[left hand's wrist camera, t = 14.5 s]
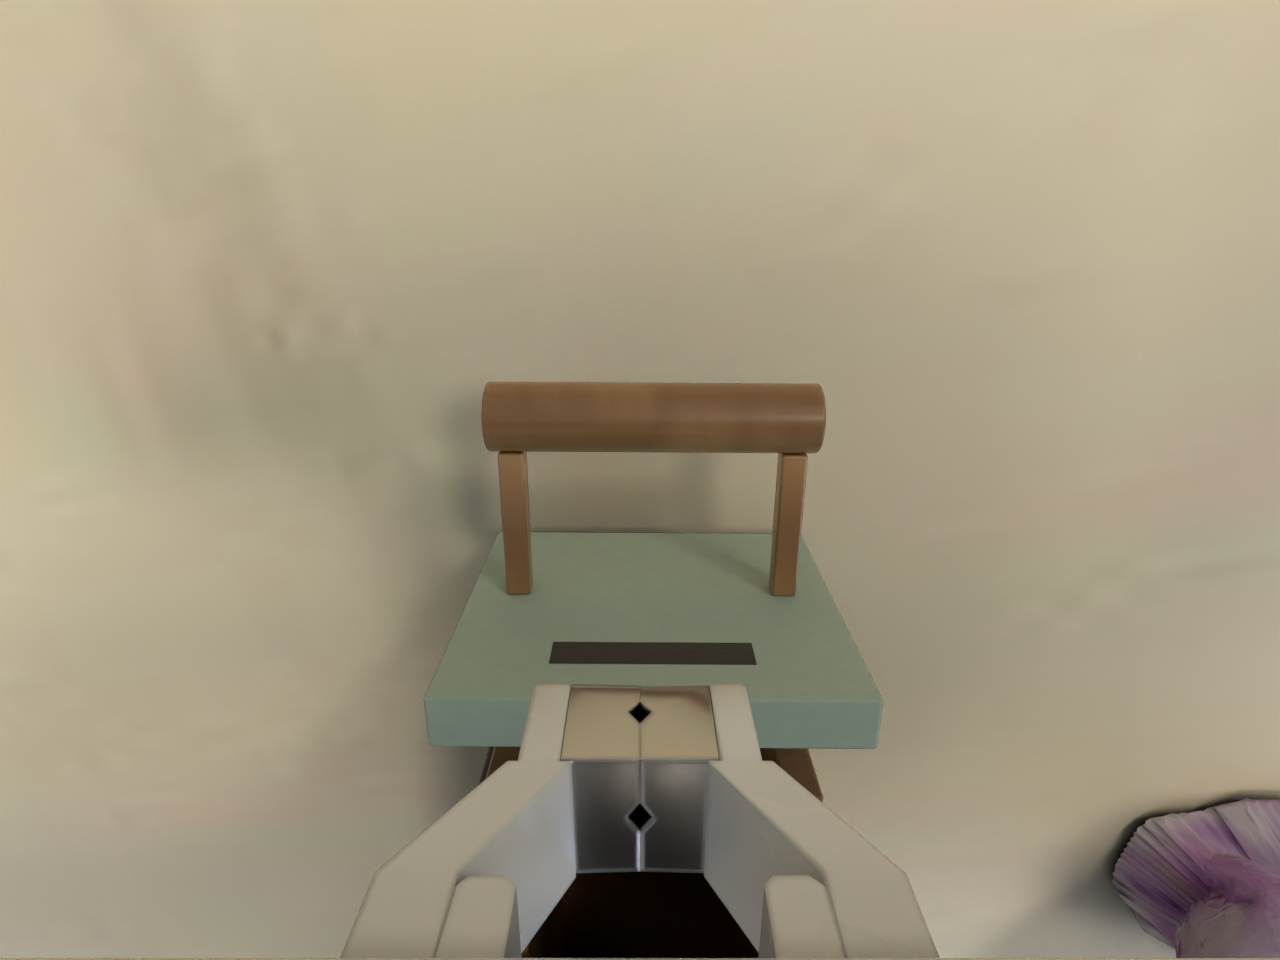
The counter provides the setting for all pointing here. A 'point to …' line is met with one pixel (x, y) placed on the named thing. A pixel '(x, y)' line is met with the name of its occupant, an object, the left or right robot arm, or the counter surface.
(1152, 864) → the figurine
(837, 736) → the drawer
